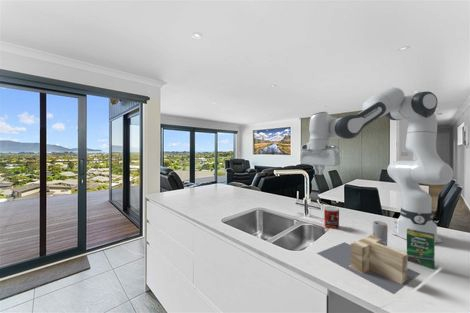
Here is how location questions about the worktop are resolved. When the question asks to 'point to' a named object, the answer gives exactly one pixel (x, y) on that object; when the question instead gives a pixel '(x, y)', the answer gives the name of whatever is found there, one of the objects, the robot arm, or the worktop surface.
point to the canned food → (331, 217)
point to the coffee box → (421, 248)
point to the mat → (343, 258)
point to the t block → (379, 259)
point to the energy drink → (380, 231)
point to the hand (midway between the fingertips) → (318, 174)
